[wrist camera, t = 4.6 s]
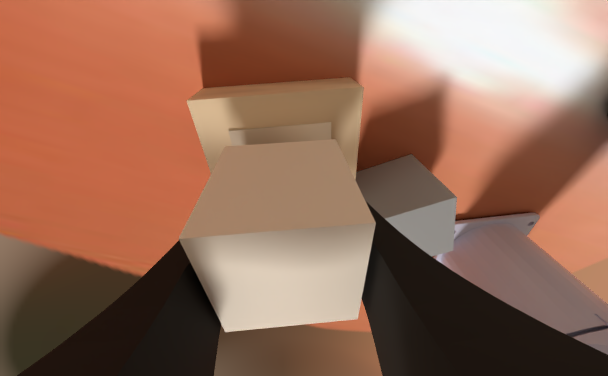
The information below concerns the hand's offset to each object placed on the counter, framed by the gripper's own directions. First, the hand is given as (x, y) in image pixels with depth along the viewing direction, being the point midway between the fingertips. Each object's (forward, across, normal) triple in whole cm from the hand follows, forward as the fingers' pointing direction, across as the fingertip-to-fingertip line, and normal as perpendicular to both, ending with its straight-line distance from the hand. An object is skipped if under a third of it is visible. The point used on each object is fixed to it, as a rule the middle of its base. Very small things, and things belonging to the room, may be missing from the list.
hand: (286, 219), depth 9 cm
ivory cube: (+2, 0, 0) cm, 2 cm away
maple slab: (+7, 0, 0) cm, 7 cm away
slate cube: (+7, -7, +4) cm, 10 cm away
